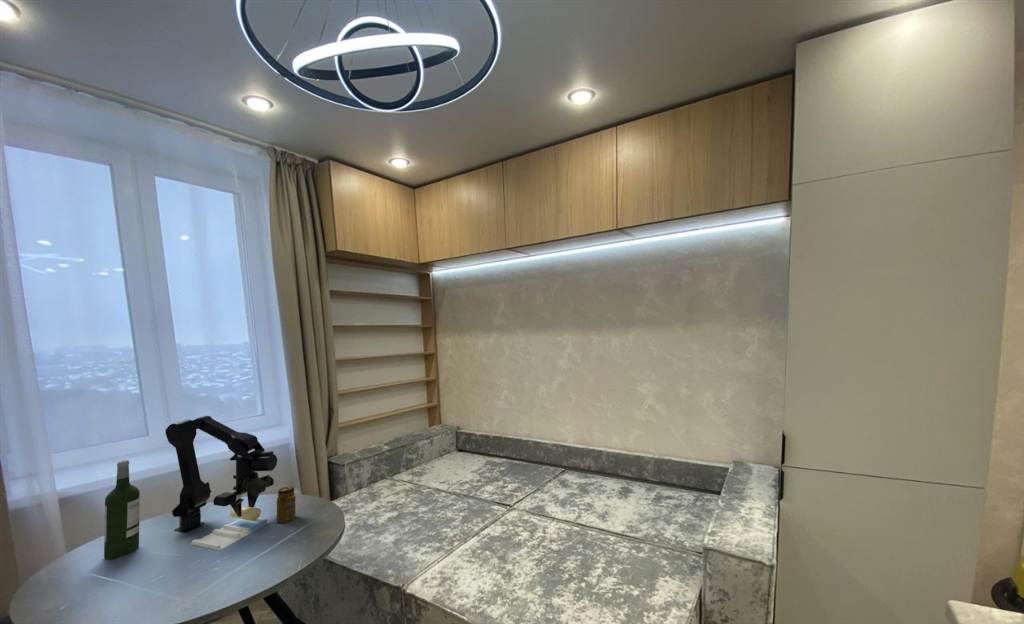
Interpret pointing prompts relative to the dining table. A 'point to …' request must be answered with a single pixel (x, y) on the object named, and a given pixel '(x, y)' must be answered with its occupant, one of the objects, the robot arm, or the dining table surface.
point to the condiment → (286, 505)
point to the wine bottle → (121, 516)
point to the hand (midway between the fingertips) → (245, 513)
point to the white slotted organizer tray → (229, 533)
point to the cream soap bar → (247, 513)
